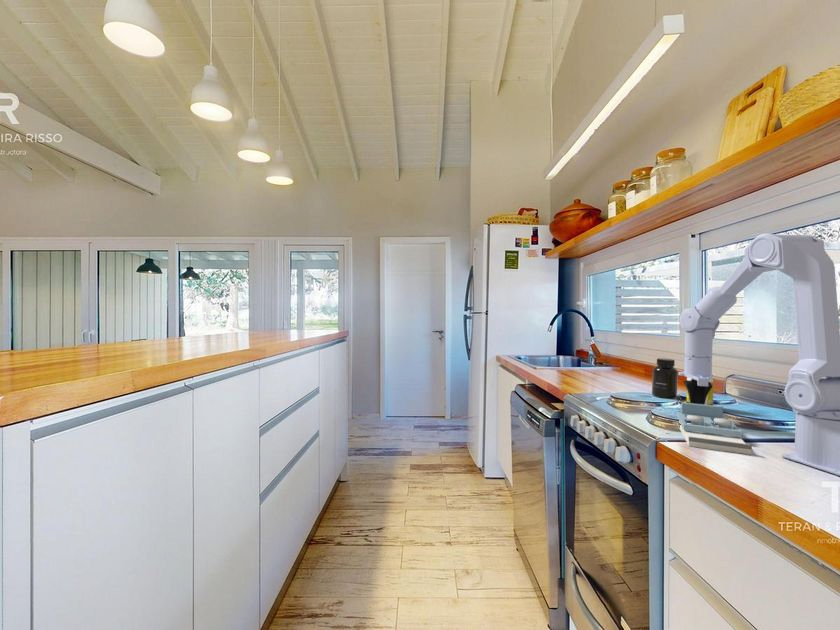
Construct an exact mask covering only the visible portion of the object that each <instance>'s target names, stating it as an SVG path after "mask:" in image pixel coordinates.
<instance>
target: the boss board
mask: <svg viewBox="0 0 840 630" xmlns="http://www.w3.org/2000/svg"><path fill="white" fill-rule="evenodd" d="M728 419H729V418H728ZM728 419H723V418H714V423H715V424H718V425H716V426H714V427H716V428H725V429H728V426H732V424H734V423H733V420H731V419H729V420H728ZM687 420H688V421H691V425H699V426H700V423H703V422H704V418H703V417H701V416H696V415H687ZM679 430H680V432H681V434H682V435H683V438H684V439H685V442H686V443H687V445H688V446H689V447H692V448H693V447H695V448H701V449H709V450H715V451H723V452H729V453H736V454H743V455H750V456H751V455H752V451H753V449H752V447H753V445H752V444H749V443H746V442H745V441H744V440H743V439H742V437H734V436H726V435H718V434H710V433H702V432H694V431H686V430H683V428H682V426H681V425H680V428H679Z"/></svg>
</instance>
